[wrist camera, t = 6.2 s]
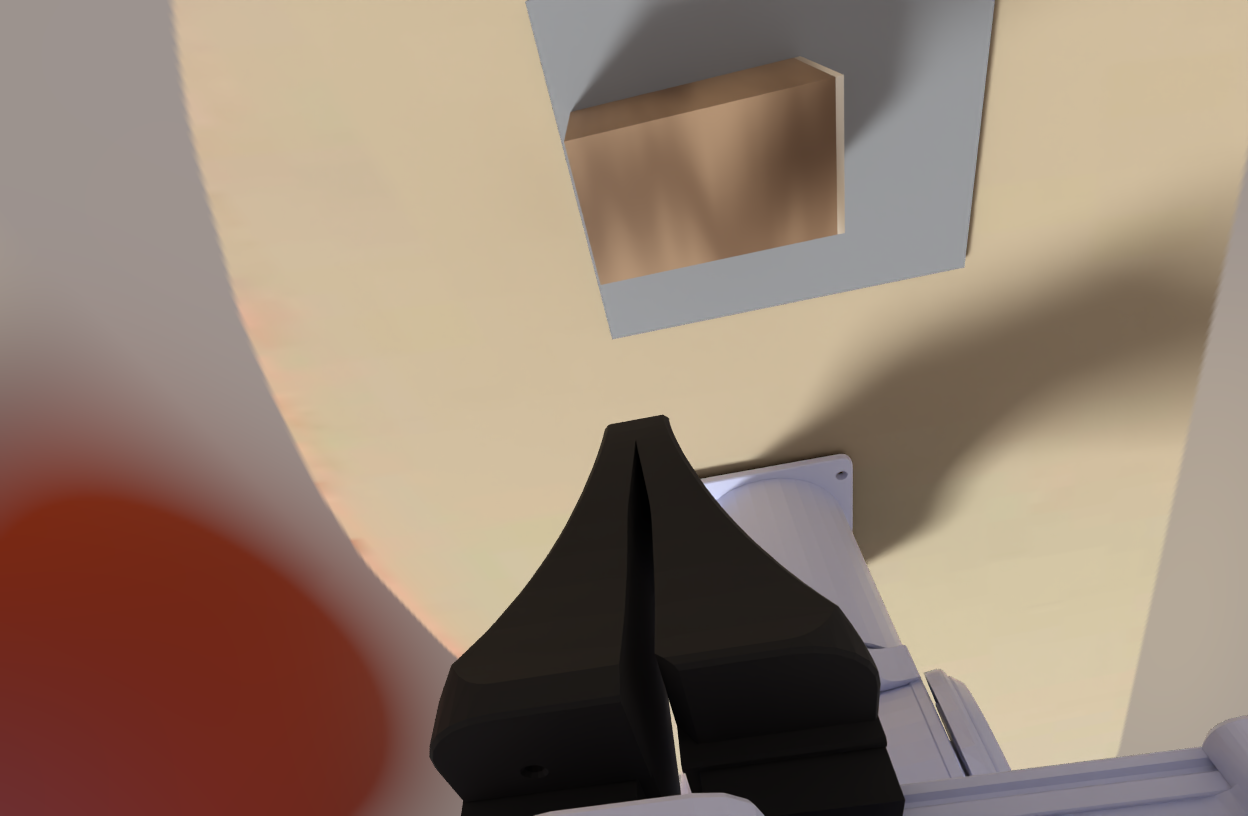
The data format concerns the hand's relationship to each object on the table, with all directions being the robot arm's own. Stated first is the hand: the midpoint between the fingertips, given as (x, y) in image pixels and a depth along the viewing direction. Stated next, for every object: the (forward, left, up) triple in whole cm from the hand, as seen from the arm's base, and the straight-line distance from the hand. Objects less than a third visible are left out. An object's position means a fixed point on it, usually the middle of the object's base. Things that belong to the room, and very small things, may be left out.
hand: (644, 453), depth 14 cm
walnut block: (+4, -6, -8) cm, 11 cm away
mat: (+3, -5, -10) cm, 12 cm away
